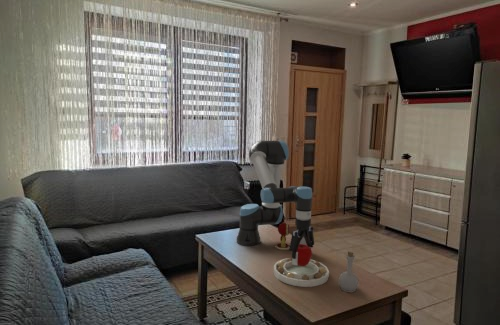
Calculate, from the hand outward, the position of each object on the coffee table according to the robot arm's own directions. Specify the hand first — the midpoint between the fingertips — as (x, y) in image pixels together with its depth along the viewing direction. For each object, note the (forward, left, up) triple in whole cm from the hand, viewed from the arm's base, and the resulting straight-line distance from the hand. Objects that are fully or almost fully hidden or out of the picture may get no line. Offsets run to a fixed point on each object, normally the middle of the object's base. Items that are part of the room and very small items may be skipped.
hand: (301, 261), depth 173 cm
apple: (0, 0, -2) cm, 2 cm away
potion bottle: (+24, +5, -7) cm, 25 cm away
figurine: (-31, +21, -7) cm, 38 cm away
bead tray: (0, 0, -7) cm, 7 cm away
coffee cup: (-17, +24, -7) cm, 30 cm away
